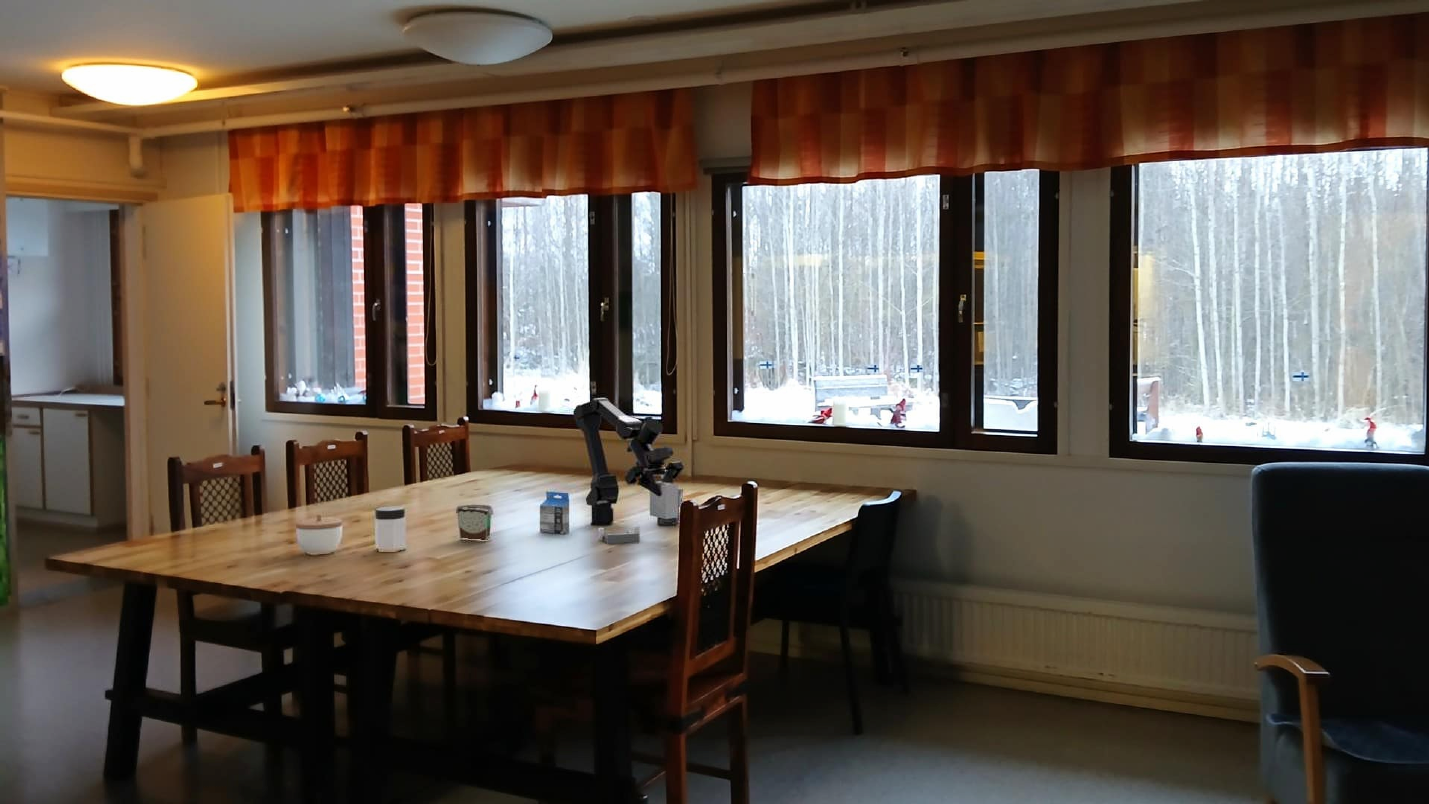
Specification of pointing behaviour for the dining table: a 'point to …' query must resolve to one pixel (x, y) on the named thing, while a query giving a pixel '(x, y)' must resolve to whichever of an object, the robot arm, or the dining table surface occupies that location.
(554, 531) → the label tape box
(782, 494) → the dining table surface
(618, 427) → the robot arm
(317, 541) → the lidded bowl
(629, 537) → the dock
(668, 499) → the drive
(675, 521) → the small box
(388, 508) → the jar
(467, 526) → the food container
